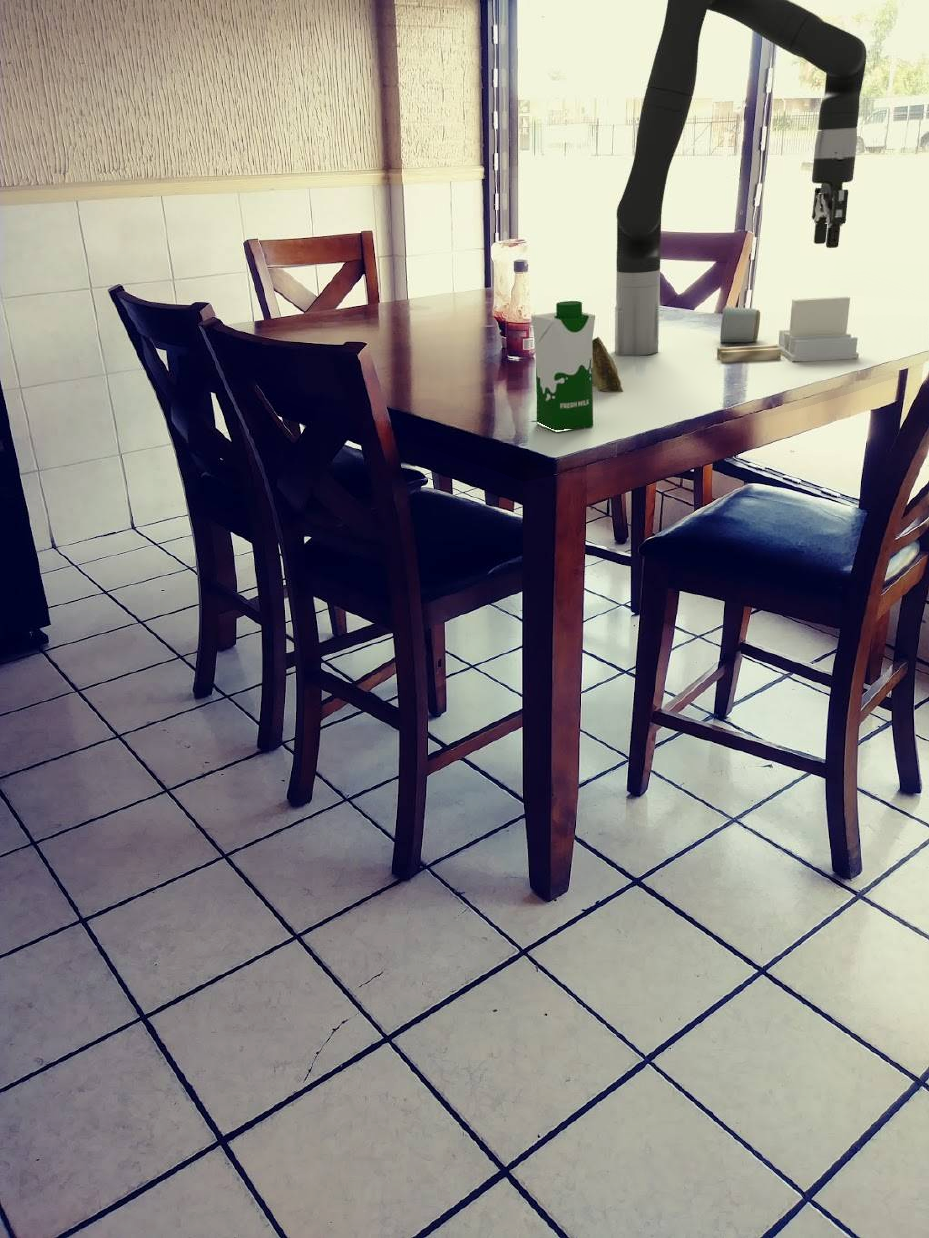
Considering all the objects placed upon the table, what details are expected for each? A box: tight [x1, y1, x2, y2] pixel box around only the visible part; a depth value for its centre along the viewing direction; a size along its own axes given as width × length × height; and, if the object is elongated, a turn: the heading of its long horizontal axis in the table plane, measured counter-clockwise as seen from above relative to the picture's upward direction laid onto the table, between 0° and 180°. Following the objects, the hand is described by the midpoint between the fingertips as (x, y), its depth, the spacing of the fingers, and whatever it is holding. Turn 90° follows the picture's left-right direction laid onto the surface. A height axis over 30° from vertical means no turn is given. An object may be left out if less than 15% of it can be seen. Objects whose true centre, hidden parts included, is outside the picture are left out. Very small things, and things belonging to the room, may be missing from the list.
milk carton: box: [530, 300, 596, 430], centre depth 159 cm, size 9×9×20 cm
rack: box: [775, 329, 860, 362], centre depth 202 cm, size 13×14×4 cm
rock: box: [592, 336, 624, 392], centre depth 187 cm, size 11×9×10 cm
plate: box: [788, 295, 851, 349], centre depth 201 cm, size 11×2×10 cm, turn 88°
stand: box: [716, 344, 782, 363], centre depth 203 cm, size 12×5×2 cm, turn 88°
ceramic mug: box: [719, 306, 761, 343], centre depth 220 cm, size 11×8×8 cm
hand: (825, 245), depth 194 cm, fingers open, 8 cm apart
